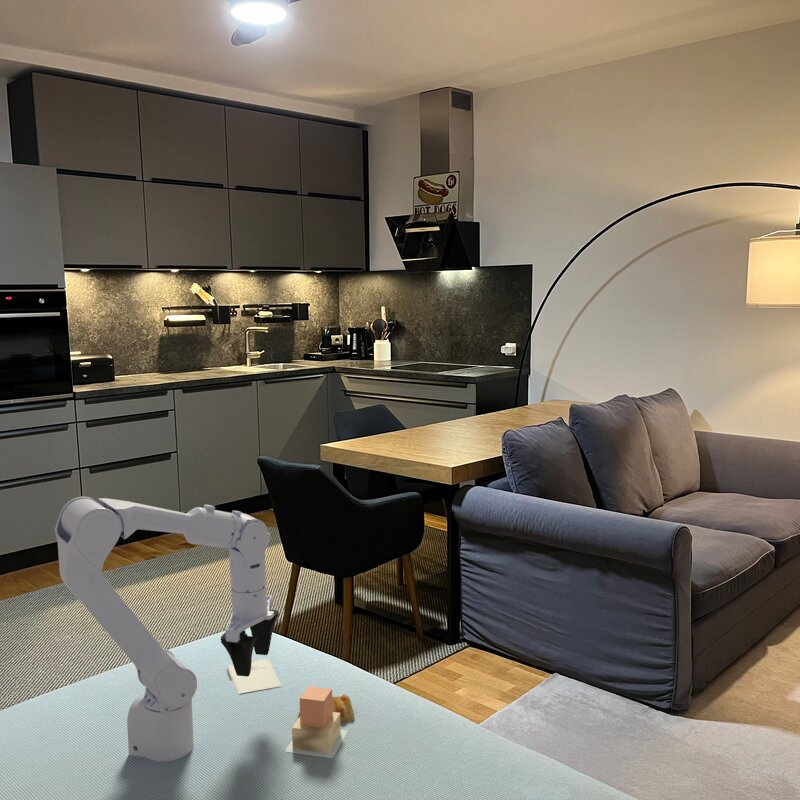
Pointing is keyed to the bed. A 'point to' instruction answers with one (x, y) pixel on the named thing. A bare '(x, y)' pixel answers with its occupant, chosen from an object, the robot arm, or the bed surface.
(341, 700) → the pastry
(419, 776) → the bed surface
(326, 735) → the base block
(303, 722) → the top block
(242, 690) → the external hard drive
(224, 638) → the robot arm
